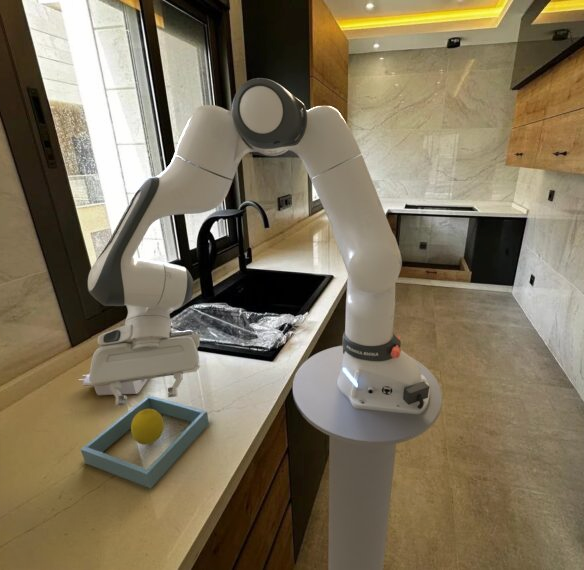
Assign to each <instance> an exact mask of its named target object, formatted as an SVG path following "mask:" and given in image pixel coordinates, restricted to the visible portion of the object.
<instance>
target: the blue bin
mask: <svg viewBox="0 0 584 570" xmlns="http://www.w3.org/2000/svg"><path fill="white" fill-rule="evenodd" d="M144 409H154V410H156V411H157V412H158V413H159V414H163V415H167V416H170V417H173V418H177V419H180V420H183V421H187V422H190V424H189V425H188V426H187V427H186V428H185V429H183V431H182V432H181V433H180V435H178V436H177V438H176V439H175V440H174V441H173V442H172V443H171V444H170V445H169V446H168V447H167V448H166V449H165V450H164V451H163V452H161V454H160V455H159V456H158V457H157V458H156V459H155V460H154V461H153V462H152V464H151V465H149V466H148V468H145V467H143V466H139V465H137V464H135V463H132V462H130V461H127V460H123V459H121V458H118V457H115V456H113V455H110V454H107V453H104V452H105V451H106V450H107V449H109V448H110V447H111V446H112V445H113V444H114V443H115V442H117V441H118V440H119V439H120V438H121V437H122V436H123V435H125V434H126V433H127V432H129V430H131V423H132V420H133V418H134V417H135V415H136V414H137V413H138V412H140V411H142V410H144ZM209 425H210V421H209V416H208V411H207V410H204V409H200V408H197V407H194V406H190V405H186V404H182V403H179V402H175V401H172V400H168V399H164V398H161V397H157V396H154V395H150V394H149V395H147V396H146V397H145V398H143V399H142V400H141V401H140V402H138V403H137V404H136V405H134V406H132V408H131V409H130V410H128V411H127V412H126V413H124V414H123V415H122V416H120V418H117V420H116V421H114V422H113V423H112V424H110V425H109V426H108V427H106V428H105V429H104V430H103V431H101V432H100V433H99V434H98V435H97V436H95V437H94V438H93V439H92V440H90V441H89V442H88V443H87V444H85V445H84V446H83V447H81V448H80V452H81V455H82V457H83V460H84V463H85V464H86V465H89V466H91V467H94V468H97V469H99V470H102V471H104V472H107V473H109V474H112V475H115V476H118V477H120V478H122V479H125V480H128V481H130V482H133V483H135V484H138V485H140V486H143V487H146V488H149V489H152V488H153V487H154V486H155V485H156V484H157V482H158V481H160V479H161V478H162V477H163V476H164V475H165V473H167V471H168V470H169V469H170V468H172V466H173V464H175V462H177V460H178V459H180V457H181V456H182V455H183V453H184V452H185V451H186V450H187V449H188V448H189V447H190V446H191V445H192V444H193V442H194V441H195V440H196V439H197V438H198V437H199V436H200V435H201V433H202V432H203V431H204V430H205V429H206V428H207V427H208V426H209Z"/></svg>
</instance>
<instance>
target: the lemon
mask: <svg viewBox="0 0 584 570" xmlns="http://www.w3.org/2000/svg"><path fill="white" fill-rule="evenodd" d="M164 426H165V423H164V420H163V416H162V415H161V413H159V412H157V411H156V410H154V409H144V410H142V411H140V412H138V413H137V414H136V415H135V417H134V418H133V420H132V423H131V428H130V433H131V436H132V438H133V440H134V441H135V442H137V443H138V444H140V445H145V446H146V445H151V444H153V443H155V442H156V441H158V440H159V439H160V438H161V436H162V434H163V433H164V429H165V428H164Z"/></svg>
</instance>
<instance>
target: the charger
mask: <svg viewBox="0 0 584 570" xmlns="http://www.w3.org/2000/svg"><path fill="white" fill-rule="evenodd" d="M89 374H90V372H89V373H88V374H83V375H82V377H83V378H79V379H77V381H78V382H82V386H83V387H91V386H94V390H95V394H96V395H97V396H114V394H113V393H112V391H111V390H110V385H106V386H96V385H93V384H92V383H91V382H90V380H89ZM148 380H149V379H145V380H138V381H132V382H125V383H122V385H121V389H118V390H119V392H120V393H121V395H134V394H135V395H137V394H139V393H140V392H141V391H142V389H143V387H144V386H145V385H146V383H147V382H148Z"/></svg>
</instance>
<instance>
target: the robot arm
mask: <svg viewBox="0 0 584 570" xmlns="http://www.w3.org/2000/svg"><path fill="white" fill-rule="evenodd" d="M231 105H232V106H231V110H228V109H225V108H224V107H221V106H218V105H214V104H203V105H200V106H198V107H196V109H195V110H194V111H193V113H192V114H191V116H190V117H189V119H188V121H187V123H186V125H185V127H184V129H183V131H182V134H181V136H180V138H179V141H178V143H177V146H176V149H175V152H174V154H173V157H172V159H171V162H170V163H169V165H168V166H167V167H166V168H165V169H164V170H163V171H162V172H161V173H160V174H158V175H157V176H150V177H147V178H146V179H145V180H144V181H143V182H142V183H141V184H140V186H139V187H138V188H137V190H136V192H135V193H134V195H133V196H132V198H131V200H130V201H129V203H128V205H127V206H126V209H125V210H124V212H123V214H122V216H121V218H120V220H119V222H118V224H117V226H116V227H115V229H114V231H113V233H112V235H111V237H110V238H109V240H108V242H107V244H106V245H105V247H104V248H103V250H102V251H101V252H100V254H99V256H98V257H97V259H96V260H95V262H94V264H93V265H92V266H91V268H90V270H89V273H88V277H87V291H88V293H89V294H90V295H91V296H92V297H93V298H94V299H95V300H96V301H97V302H99V303H100V304H101V305H102V306H104V307H124V306H126V309H127V315H126V318H125V322H124V325H122V326H119V327H117V328H114V329H112V330H109V331H107V332H104V333H102V334H100V335H98V337H97V344H98V345H99V347H98V348H97V349H96V350H94V353H93V354H92V358H91V362H90V366H89V367H90V368H89V373H90V374H89V373H88V374H89V380H90V382H91V383H92V384H93V385H96V386H106V385H110V390H111V391H112V393H113V394H114V395H113V396H114V397H115V403H114V404H115V407H123V406H127V404H128V401H127V400H128V396H127V395H126V394H121V393H120V392H119V390H118V389H121V385H122V383H125V382H132V381H138V380H145V379H148V380H151V379H156V378H157V379H158V378H164V377H169V376H170V377H171V376H173V379H175V381H174V383H173V385H172V386H171V387H167V396H168V398H175V397H178V388H179V387H180V385H181V383H182V381H183V379H184V374H189V373H196V372H197V371H198V370H199V369H200V367H201V362H200V355H199V350H198V348H199V347H200V345H201V338H200V335H199V333H198V332H197V331H193V330H192V329H186V330H183V331H182V330H181V331H180V330H179V331H172V320H171V315H170V313H171V312H172V311H177V310H179V309H181V308H182V307H183V306H185V305H186V304H188V303H189V302H190V301H191V300H192V298H193V295H194V279H193V277H192V275H191V273H190V272H189V270H188V269H187V268H186V267H185V266H183V265H182V266H181V265H179V264H174V263H169V262H163V261H156V260H155V261H154V260H151V259H146V258H140V257H135V256H134V255H135V253H136V252H137V250H138V248H139V246H140V245H141V243H142V241H143V239H144V237H145V236H146V234H147V232H148V230H149V228H150V227H151V226H152V225H153V223H155V222H156V221H158V220H159V219H162V218H165V217H170V216H178V215H194V214H195V215H197V214H203V213H206V212H210V211H212V210H215V209H216V208H217V207H219V206H220V205H221V204H223V202H224V201H225V200H226V198H227V196H228V194H229V191H230V189H231V186H232V183H233V182H234V181H233V180H234V178H235V175H236V172H237V170H238V167H239V164H240V163H241V161H242V159H243V157H245V156H246V155H247V154H250V155H256V156H262V157H268V158H278V157H282V156H285V155H286V154H288V153H289V152H293V153H294V154H296V155H297V156H298V158H299V159H300V161H301V162H302V164H303V165H304V167H305V170H306V172H307V174H308V176H309V179H310V181H311V183H312V185H313V188H314V190H315V191H316V194H317V196H318V199H319V201H320V204H321V205H322V208H323V210H324V212H325V215H326V217H327V219H328V223H329V225H330V228H331V231H332V235H333V237H334V240H335V241H334V242H335V243H336V246H337V249H338V252H339V254H340V257H341V259H342V262H343V264H344V267H345V269H346V272H347V280H346V297H345V298H346V299H345V321H344V323H345V324H344V325H345V327H344V331H343V335H342V344H341V346H342V348H343V354H344V356H343V362H342V367H341V371H340V374H339V377H338V379H337V384H338V387H339V389H340V391H341V392H342V393H343V394H344V395H345V396H347V397H348V398H349V400H350V402H351V404H352V406H353V407H355V408H358V409H368V410H378V411H388V412H399V413H409V414H420V413H422V412H423V411H424V410H425V409H426V407H427V405H428V403H429V397H430V388H429V384H428V381H427V379H426V378H425V377H424V376H423V375H421V373H420V368H419V365H418V363H417V362H416V361H415V360H416V359H415V358H414V359H415V360H414V359H412V358H413V357H412V358H411V356H410V355H409V354H407V353H406V352H405V351H403V349H401V345H402V343H401V342H402V340H401V334H398V336H396V334H395V333H394V321H395V311H396V282H397V280H398V278H399V276H400V273H401V271H402V266H403V257H402V254H401V250H400V248H399V245H398V241H397V238H396V236H395V234H394V233H393V231H392V228H391V225H390V222H389V220H388V218H387V215H386V212H385V210H384V208H383V205H382V202H381V200H380V197H379V194H378V191H377V189H376V187H375V184H374V182H373V179H372V177H371V174H370V172H369V169H368V166H367V164H366V162H365V159H364V156H363V154H362V152H361V149H360V146H359V145H358V142H357V141H356V138H355V136H354V134H353V133H352V131H351V129H350V127H349V126H348V124H347V122H346V121H345V119H344V117H343V115H342V114H341V113H340V112H339V110H338V109H337V108H335V107H333V106H331V105H318V106H315V107H312V108H310V109H307V107H306V105H305V104H304V102H302V101H301V100H300V99H299V98H297V97H296V96H295V95H294V94H292V93H291V92H290V91H289V90H287V89H286V88H285V87H284V86H282V85H281V84H279V83H278V82H276V81H274V80H272V79H268V78H263V77H256V78H252V79H249V80H247V81H245V82H244V83H243V84H241V85H240V86H239V88H238V89H237V91H236V93H235V94H234V97H233V100H232V103H231Z"/></svg>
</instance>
